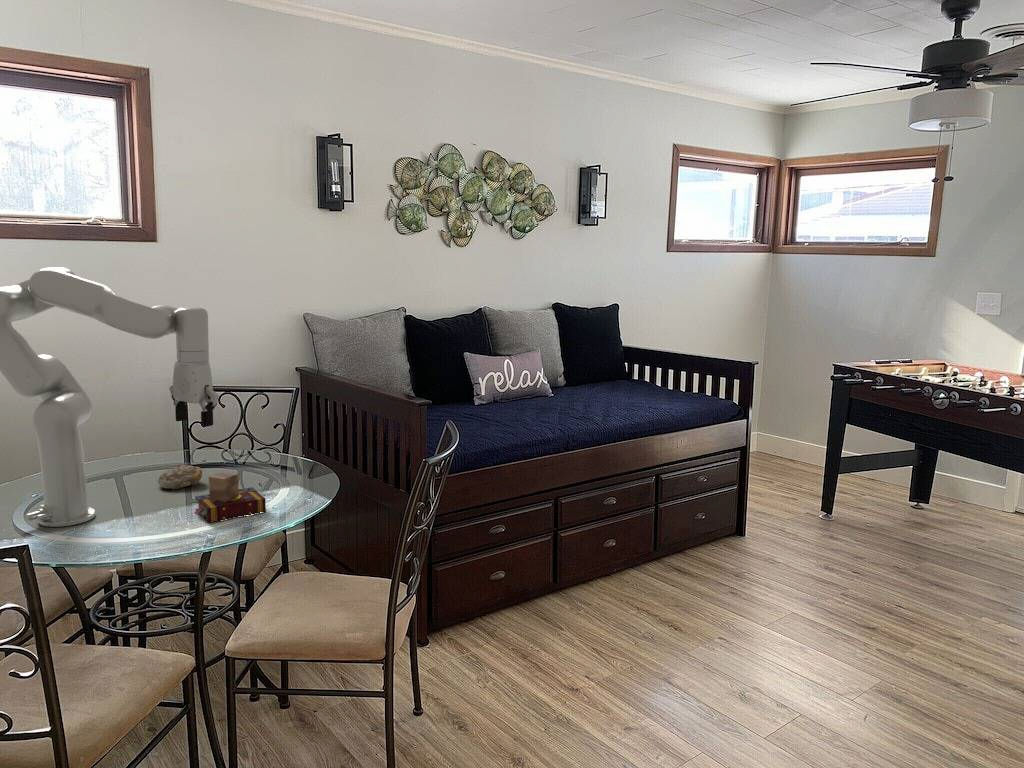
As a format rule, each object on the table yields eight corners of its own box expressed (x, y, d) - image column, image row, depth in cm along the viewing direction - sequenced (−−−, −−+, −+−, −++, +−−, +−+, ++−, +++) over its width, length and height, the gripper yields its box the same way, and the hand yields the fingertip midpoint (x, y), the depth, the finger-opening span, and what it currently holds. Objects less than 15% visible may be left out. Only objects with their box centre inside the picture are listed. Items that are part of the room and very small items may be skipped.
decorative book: (267, 514, 206) (266, 496, 205) (203, 526, 197) (202, 507, 196) (252, 502, 215) (252, 485, 214) (191, 513, 206) (190, 495, 205)
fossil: (162, 492, 220) (150, 463, 224) (167, 504, 227) (154, 476, 231) (205, 475, 225) (192, 447, 229) (208, 487, 232) (195, 460, 236)
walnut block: (224, 501, 200) (223, 479, 199) (209, 499, 202) (208, 476, 201) (238, 496, 205) (237, 474, 204) (224, 493, 207) (223, 471, 206)
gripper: (157, 354, 199) (159, 420, 202) (203, 362, 190) (204, 431, 193) (182, 352, 205) (184, 416, 208) (228, 359, 197) (229, 425, 200)
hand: (194, 423), depth 201 cm, fingers open, 9 cm apart
